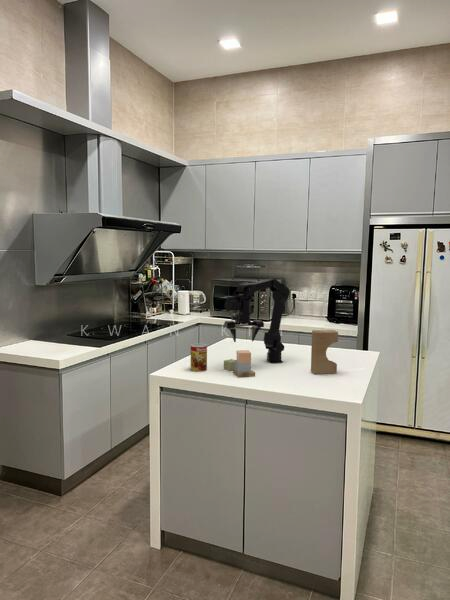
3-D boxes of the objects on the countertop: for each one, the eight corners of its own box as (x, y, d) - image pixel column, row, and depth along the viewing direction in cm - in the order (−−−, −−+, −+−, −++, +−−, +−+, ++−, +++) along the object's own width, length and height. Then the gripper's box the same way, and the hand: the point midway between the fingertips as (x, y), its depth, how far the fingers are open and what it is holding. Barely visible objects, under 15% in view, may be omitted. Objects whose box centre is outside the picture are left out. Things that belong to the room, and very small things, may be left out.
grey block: (247, 368, 208) (247, 359, 208) (250, 372, 202) (250, 362, 202) (235, 369, 207) (235, 359, 207) (238, 372, 201) (238, 363, 201)
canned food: (200, 372, 208) (200, 347, 206) (187, 370, 212) (187, 345, 210) (210, 369, 214) (210, 344, 213) (196, 366, 218) (196, 342, 217)
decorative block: (332, 370, 214) (333, 329, 212) (337, 373, 208) (338, 331, 206) (310, 371, 212) (311, 330, 210) (314, 374, 207) (315, 332, 205)
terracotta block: (247, 359, 207) (248, 350, 207) (250, 362, 202) (251, 352, 201) (236, 360, 206) (236, 350, 206) (239, 363, 201) (239, 353, 200)
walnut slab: (249, 373, 210) (249, 368, 210) (255, 377, 202) (255, 372, 202) (233, 374, 208) (233, 369, 207) (238, 379, 200) (238, 373, 200)
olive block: (231, 368, 217) (231, 359, 216) (238, 370, 213) (238, 361, 213) (223, 369, 214) (223, 360, 213) (230, 371, 210) (230, 362, 210)
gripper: (256, 307, 225) (255, 337, 226) (221, 308, 219) (220, 339, 221) (264, 310, 214) (263, 341, 216) (227, 311, 209) (227, 343, 210)
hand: (243, 341), depth 216 cm, fingers open, 9 cm apart
